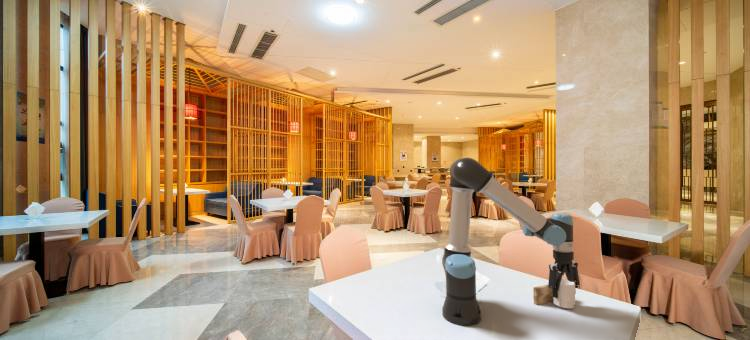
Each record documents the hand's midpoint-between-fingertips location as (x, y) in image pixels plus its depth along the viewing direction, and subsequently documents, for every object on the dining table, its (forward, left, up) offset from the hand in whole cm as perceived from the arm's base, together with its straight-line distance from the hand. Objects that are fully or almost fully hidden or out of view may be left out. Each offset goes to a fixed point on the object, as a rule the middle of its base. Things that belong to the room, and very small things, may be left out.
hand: (564, 303), depth 124 cm
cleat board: (-2, +5, -1) cm, 5 cm away
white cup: (0, 0, -1) cm, 1 cm away
